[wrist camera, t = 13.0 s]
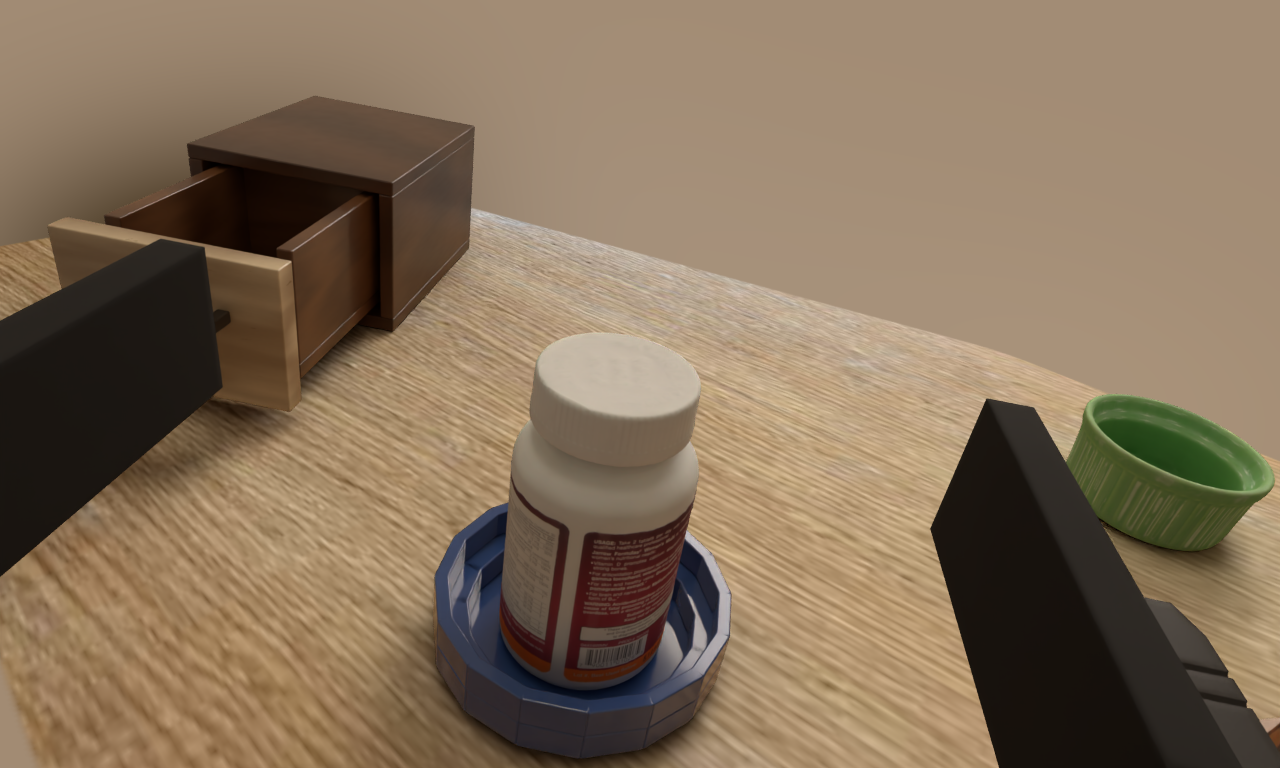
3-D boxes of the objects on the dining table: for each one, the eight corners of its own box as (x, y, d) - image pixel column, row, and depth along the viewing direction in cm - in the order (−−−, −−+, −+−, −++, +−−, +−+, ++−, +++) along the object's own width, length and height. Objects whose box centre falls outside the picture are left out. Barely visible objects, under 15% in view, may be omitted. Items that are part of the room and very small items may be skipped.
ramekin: (1137, 569, 39) (1182, 498, 37) (1018, 458, 46) (1049, 393, 44) (1270, 555, 42) (1318, 489, 40) (1137, 452, 49) (1173, 391, 47)
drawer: (231, 473, 34) (210, 318, 30) (-5, 424, 34) (-54, 265, 31) (399, 299, 50) (400, 184, 46) (237, 267, 50) (225, 150, 46)
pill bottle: (678, 600, 32) (738, 354, 27) (631, 723, 27) (694, 451, 21) (537, 552, 33) (565, 306, 28) (466, 661, 28) (483, 387, 23)
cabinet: (393, 331, 48) (392, 182, 43) (206, 294, 48) (186, 143, 44) (469, 248, 61) (475, 125, 56) (320, 219, 61) (314, 95, 56)
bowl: (386, 724, 26) (386, 670, 25) (483, 517, 35) (486, 470, 34) (709, 793, 26) (725, 742, 24) (722, 566, 35) (734, 520, 34)
